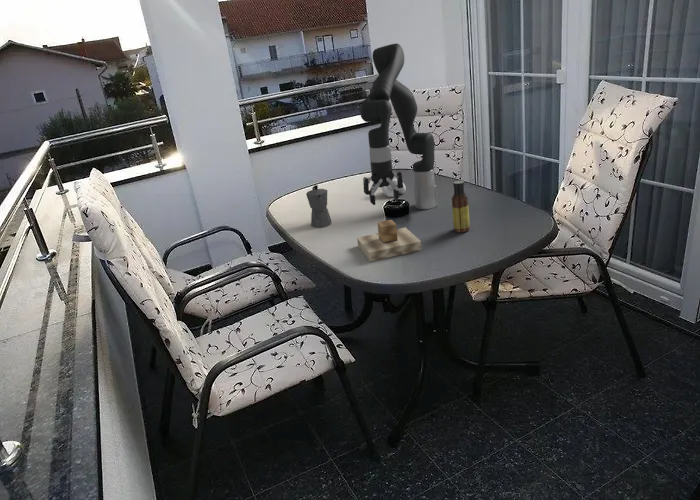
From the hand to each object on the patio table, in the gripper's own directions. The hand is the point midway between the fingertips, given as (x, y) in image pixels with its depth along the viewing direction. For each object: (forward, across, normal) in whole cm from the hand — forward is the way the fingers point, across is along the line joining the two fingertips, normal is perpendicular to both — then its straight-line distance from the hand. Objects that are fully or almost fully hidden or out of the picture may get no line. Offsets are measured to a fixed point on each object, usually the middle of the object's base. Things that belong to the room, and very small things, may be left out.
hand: (384, 202), depth 182 cm
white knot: (+19, -24, -60) cm, 67 cm away
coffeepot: (+19, +18, -41) cm, 49 cm away
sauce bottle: (+19, -31, -2) cm, 36 cm away
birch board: (+18, 0, 0) cm, 18 cm away
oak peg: (+18, 0, 0) cm, 18 cm away
